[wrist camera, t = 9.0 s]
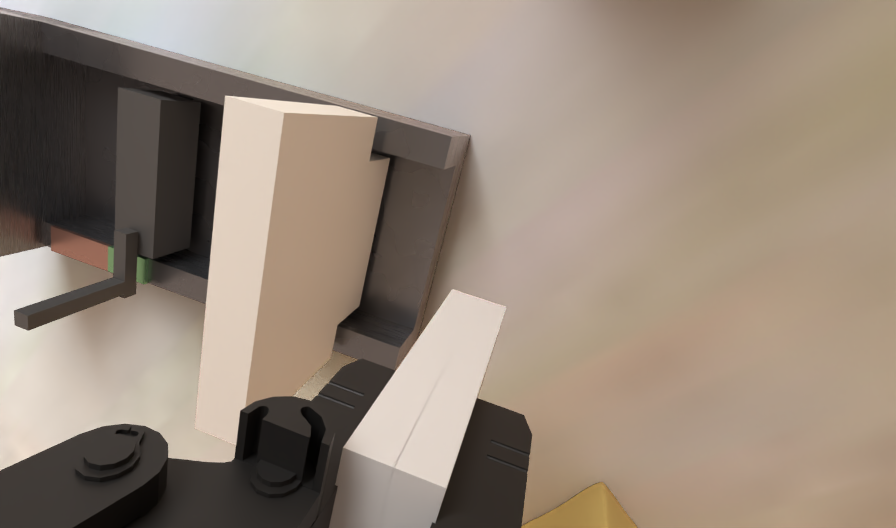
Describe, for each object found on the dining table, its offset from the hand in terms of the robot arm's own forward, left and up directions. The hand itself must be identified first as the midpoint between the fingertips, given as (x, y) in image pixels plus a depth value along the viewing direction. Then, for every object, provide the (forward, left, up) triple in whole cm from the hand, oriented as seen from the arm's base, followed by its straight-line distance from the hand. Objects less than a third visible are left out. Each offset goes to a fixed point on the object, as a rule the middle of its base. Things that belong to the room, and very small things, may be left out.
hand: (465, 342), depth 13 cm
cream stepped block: (0, -8, -7) cm, 11 cm away
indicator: (+1, -15, -7) cm, 17 cm away
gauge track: (0, -14, -9) cm, 17 cm away
